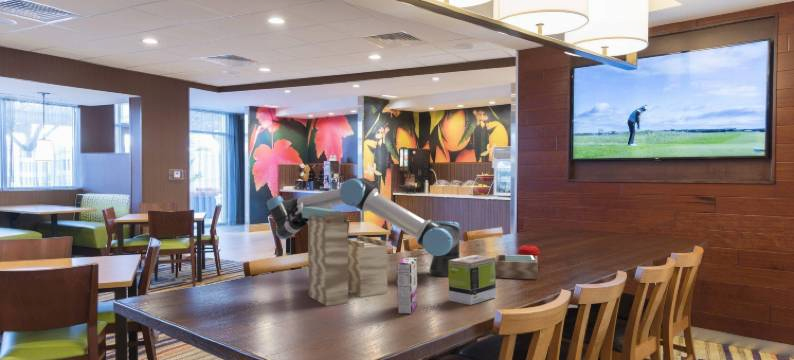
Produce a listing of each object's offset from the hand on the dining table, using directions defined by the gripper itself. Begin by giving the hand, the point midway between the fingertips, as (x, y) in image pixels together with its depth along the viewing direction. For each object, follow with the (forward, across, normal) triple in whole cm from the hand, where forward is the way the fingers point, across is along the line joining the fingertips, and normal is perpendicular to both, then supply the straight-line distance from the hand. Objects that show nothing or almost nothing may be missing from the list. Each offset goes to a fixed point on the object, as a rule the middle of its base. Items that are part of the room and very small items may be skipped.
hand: (317, 206), depth 222 cm
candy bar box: (+42, -5, -51) cm, 67 cm away
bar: (+20, +11, -13) cm, 26 cm away
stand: (+16, +10, -41) cm, 45 cm away
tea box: (+45, -31, -51) cm, 75 cm away
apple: (+18, -97, -36) cm, 105 cm away
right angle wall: (+26, -80, -40) cm, 93 cm away
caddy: (+26, -78, -40) cm, 91 cm away
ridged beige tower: (+10, -8, -38) cm, 40 cm away
